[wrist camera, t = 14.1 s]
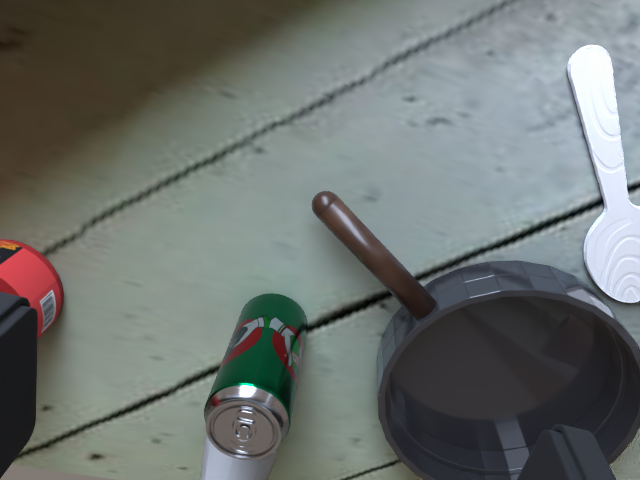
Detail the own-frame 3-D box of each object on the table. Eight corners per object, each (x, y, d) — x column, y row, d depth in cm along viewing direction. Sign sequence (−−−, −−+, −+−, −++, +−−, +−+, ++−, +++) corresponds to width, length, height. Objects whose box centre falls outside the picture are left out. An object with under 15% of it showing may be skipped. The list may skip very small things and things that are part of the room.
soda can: (237, 339, 44) (195, 456, 33) (246, 283, 42) (203, 387, 31) (302, 352, 44) (280, 473, 33) (313, 297, 42) (294, 405, 31)
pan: (527, 209, 38) (546, 235, 34) (668, 378, 42) (701, 420, 38) (329, 353, 43) (325, 390, 39) (471, 488, 48) (481, 535, 44)
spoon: (631, 29, 33) (635, 29, 32) (675, 288, 39) (679, 291, 38) (538, 63, 34) (540, 64, 33) (595, 309, 40) (598, 313, 40)
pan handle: (327, 181, 36) (325, 190, 34) (444, 305, 38) (448, 319, 37) (307, 199, 36) (304, 209, 34) (423, 320, 39) (426, 334, 37)
